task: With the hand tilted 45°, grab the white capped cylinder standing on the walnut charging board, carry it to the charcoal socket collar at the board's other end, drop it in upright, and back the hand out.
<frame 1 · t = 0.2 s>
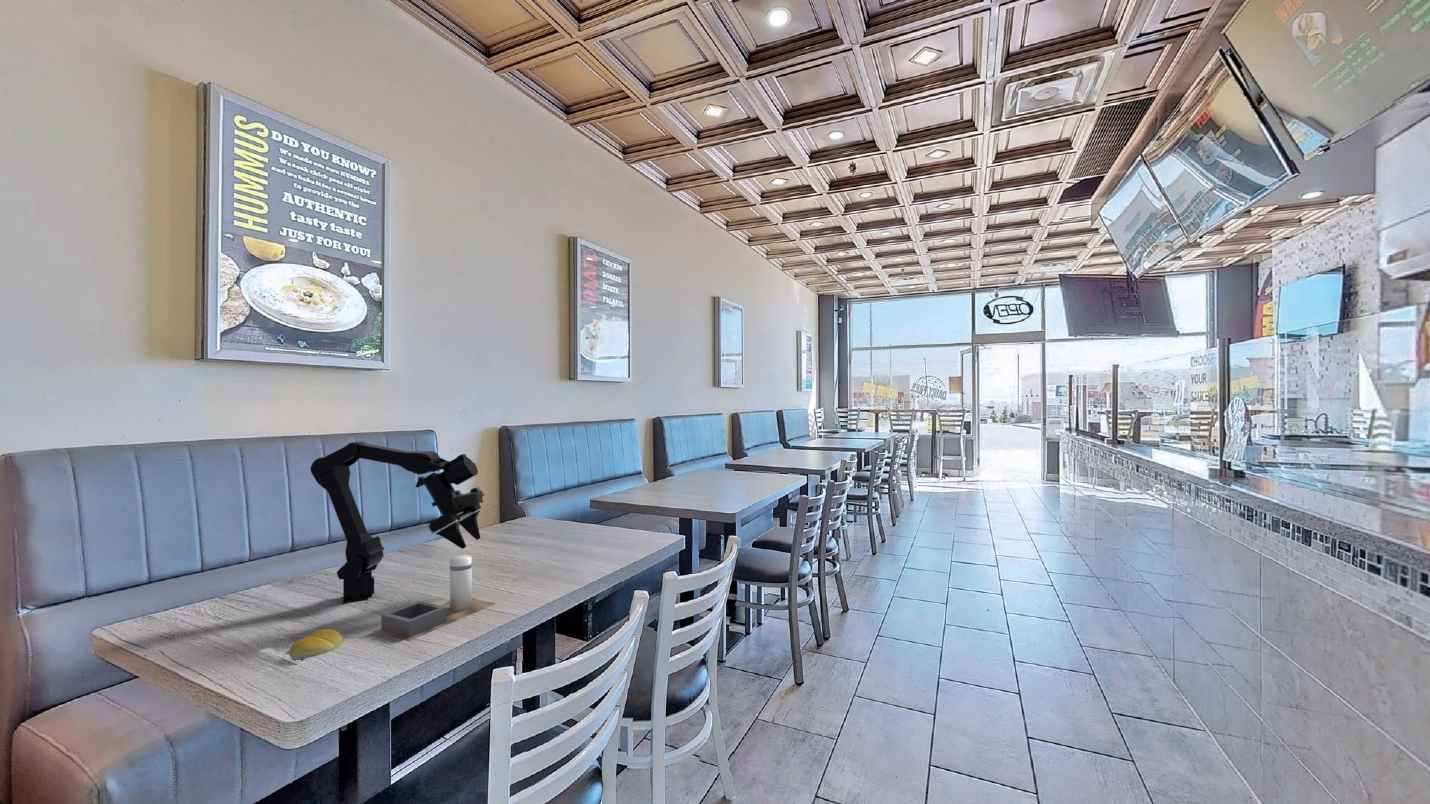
hand: (471, 543, 145), 14 cm above the table, tool tilted 30°, fingers open, 9 cm apart
socket collar: (414, 626, 123), resting on charging board
bread roll: (316, 653, 112), on the table
white capped cylinder: (460, 607, 134), point 1 cm above the table, touching charging board
charging board: (438, 619, 129), on the table
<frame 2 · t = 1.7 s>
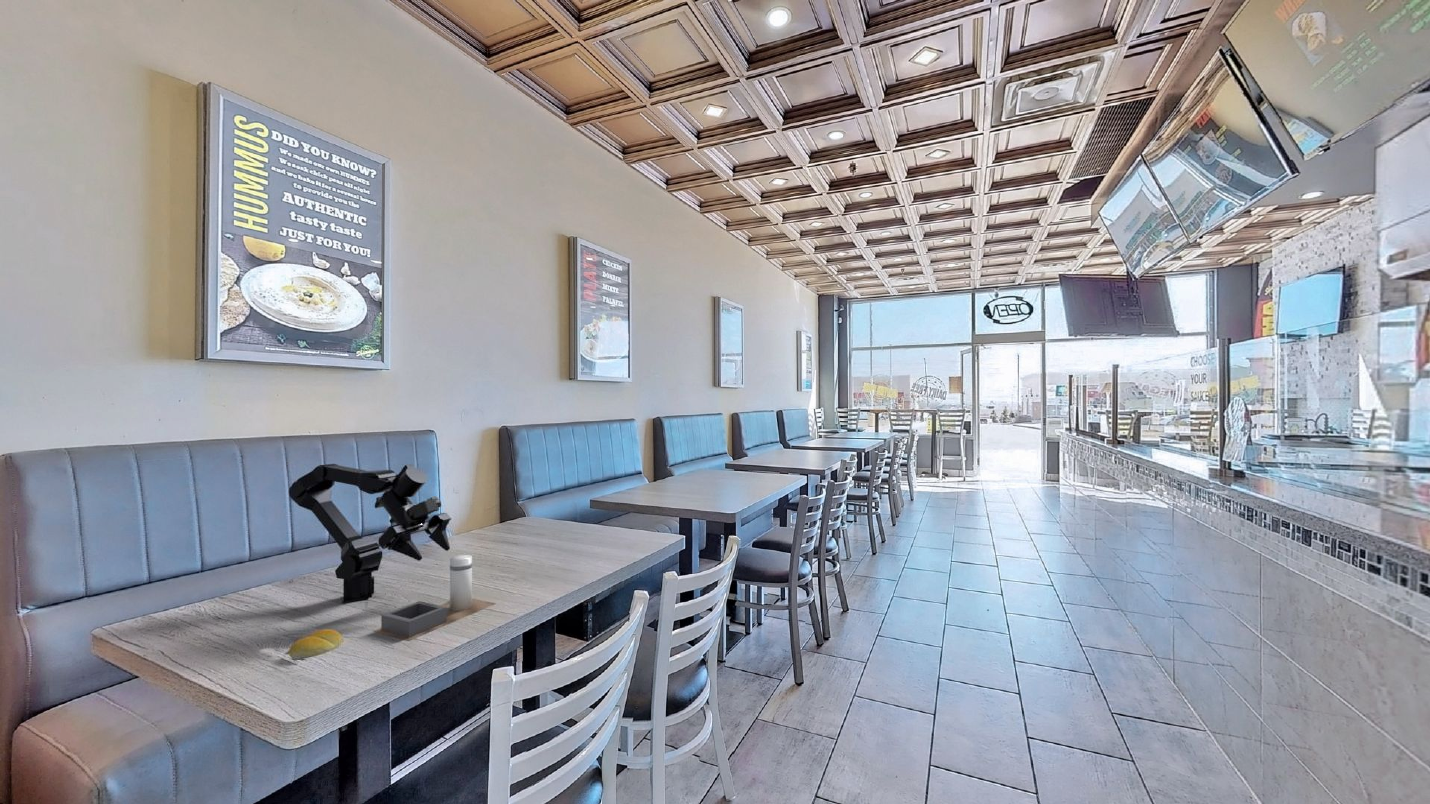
hand: (435, 554, 137), 13 cm above the table, tool tilted 45°, fingers open, 9 cm apart
nothing on the table moved.
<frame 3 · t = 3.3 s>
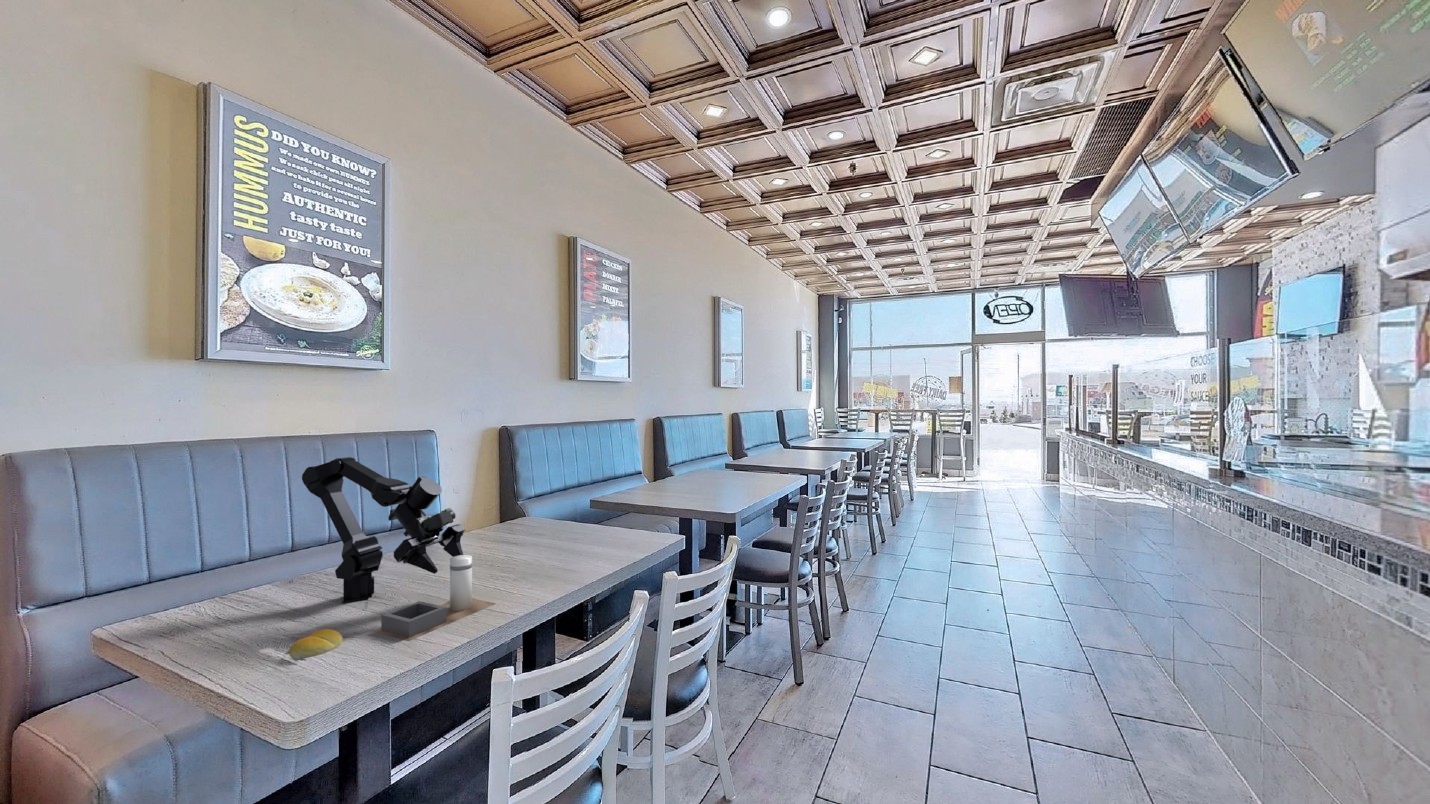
hand: (450, 567, 135), 11 cm above the table, tool tilted 45°, fingers open, 9 cm apart
nothing on the table moved.
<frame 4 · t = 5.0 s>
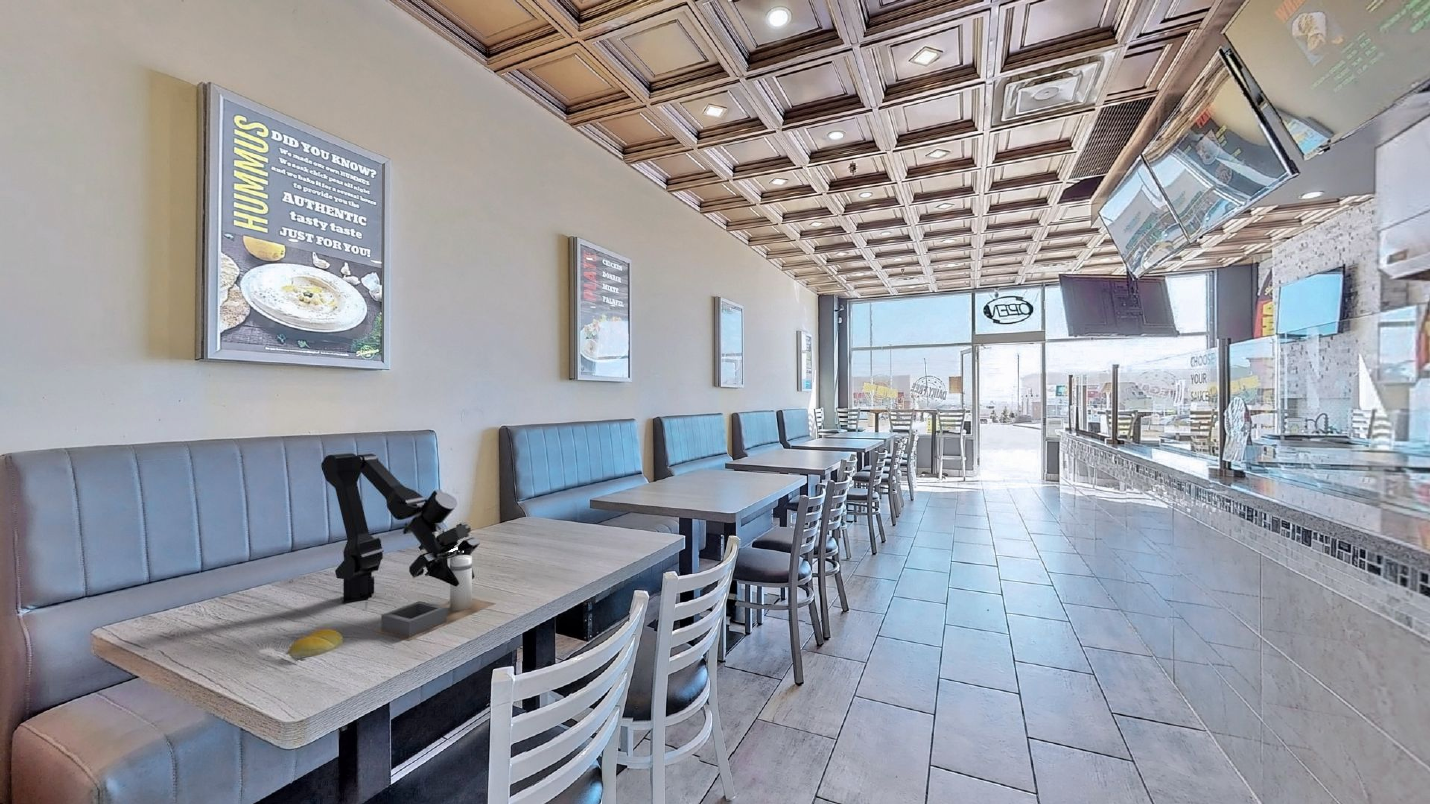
hand: (465, 581, 134), 7 cm above the table, tool tilted 45°, fingers closed on white capped cylinder, 5 cm apart
white capped cylinder: (460, 607, 134), point 1 cm above the table, touching charging board, gripper
everything else where it was.
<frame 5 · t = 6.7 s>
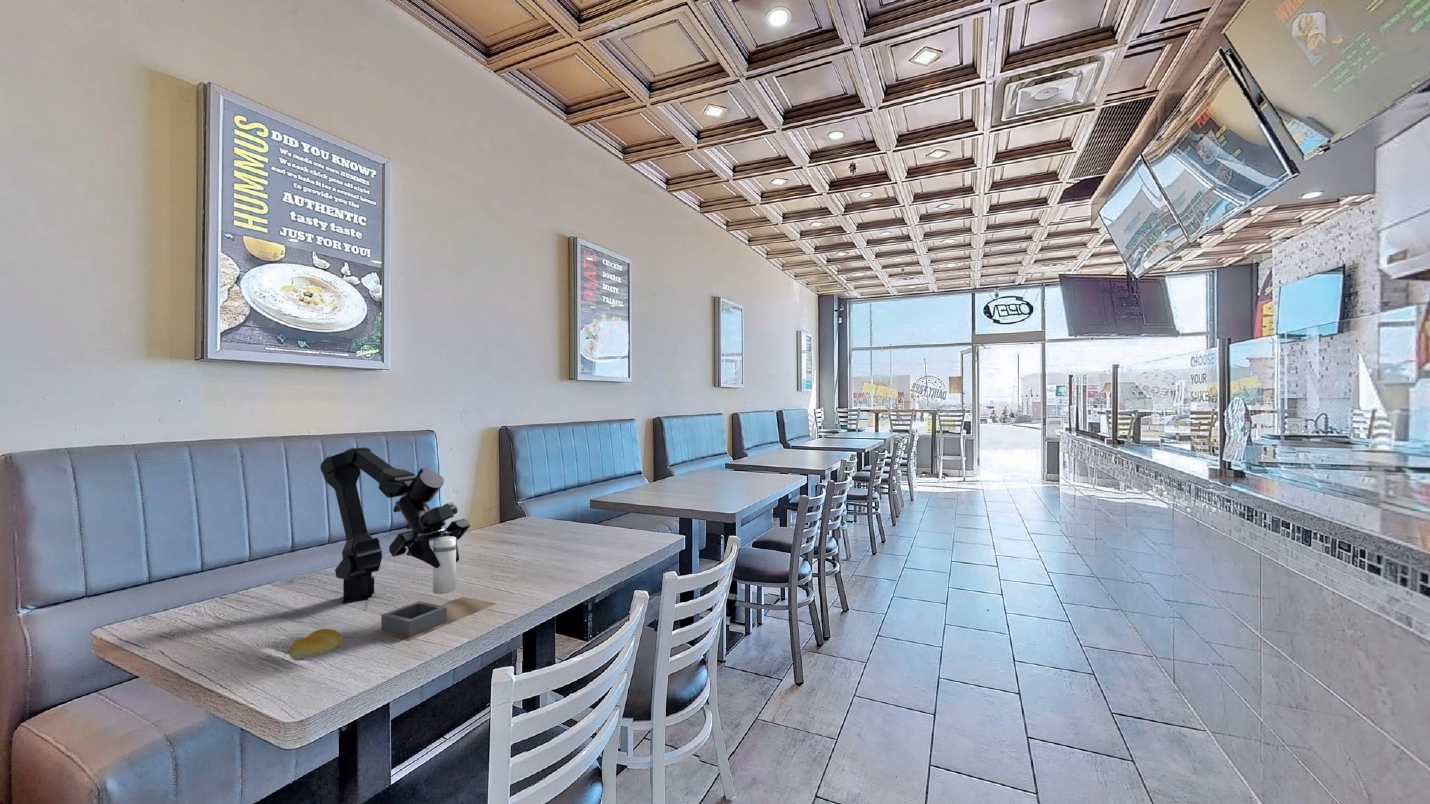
hand: (448, 564, 129), 13 cm above the table, tool tilted 45°, fingers closed on white capped cylinder, 5 cm apart
white capped cylinder: (444, 590, 130), point 7 cm above the table, touching gripper
everything else where it was.
when the fingers open (9 cm above the table, at t = 8.7 s): white capped cylinder drops 1 cm, resting on charging board.
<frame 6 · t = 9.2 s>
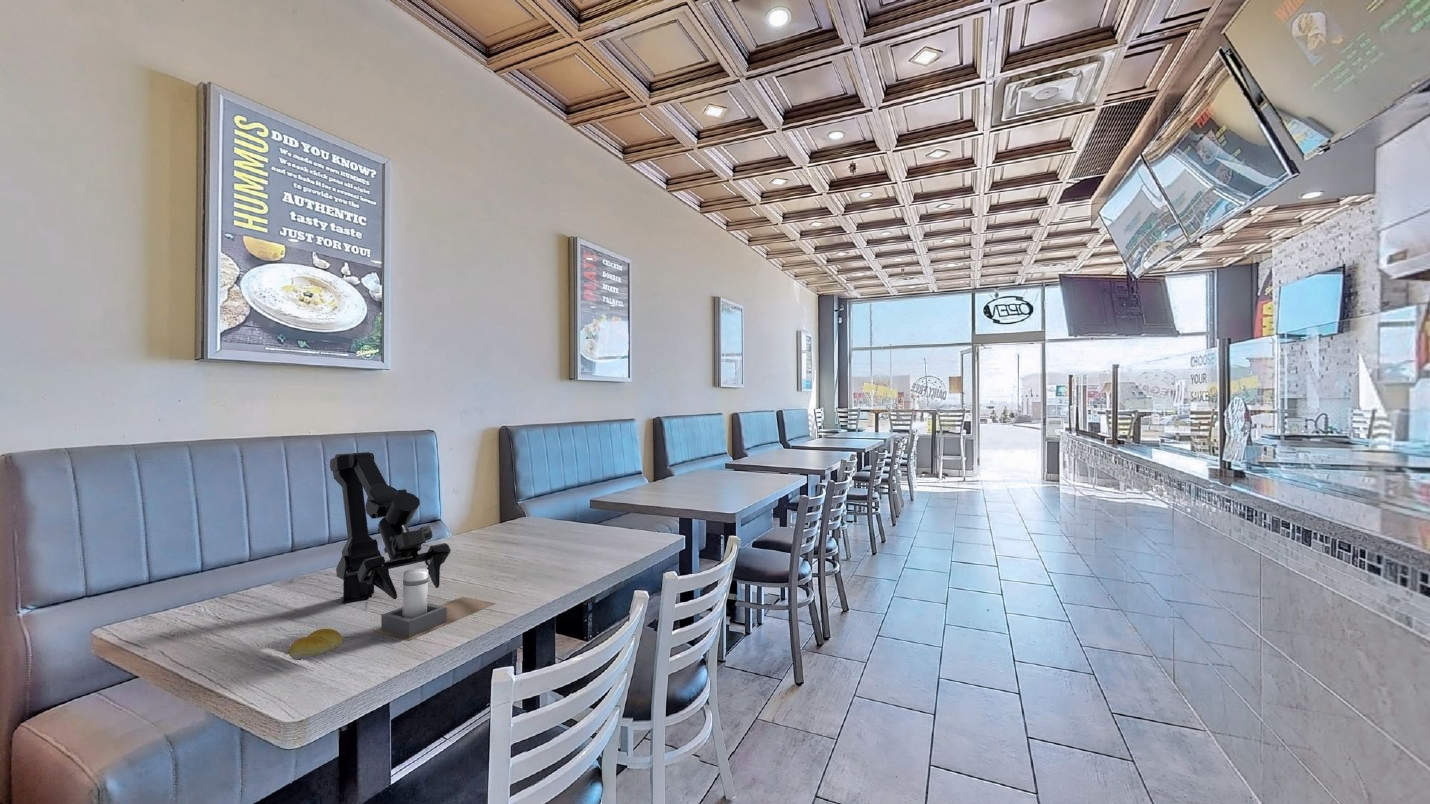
hand: (417, 592, 122), 9 cm above the table, tool tilted 45°, fingers open, 9 cm apart
white capped cylinder: (414, 625, 123), point 1 cm above the table, touching charging board
everything else where it was.
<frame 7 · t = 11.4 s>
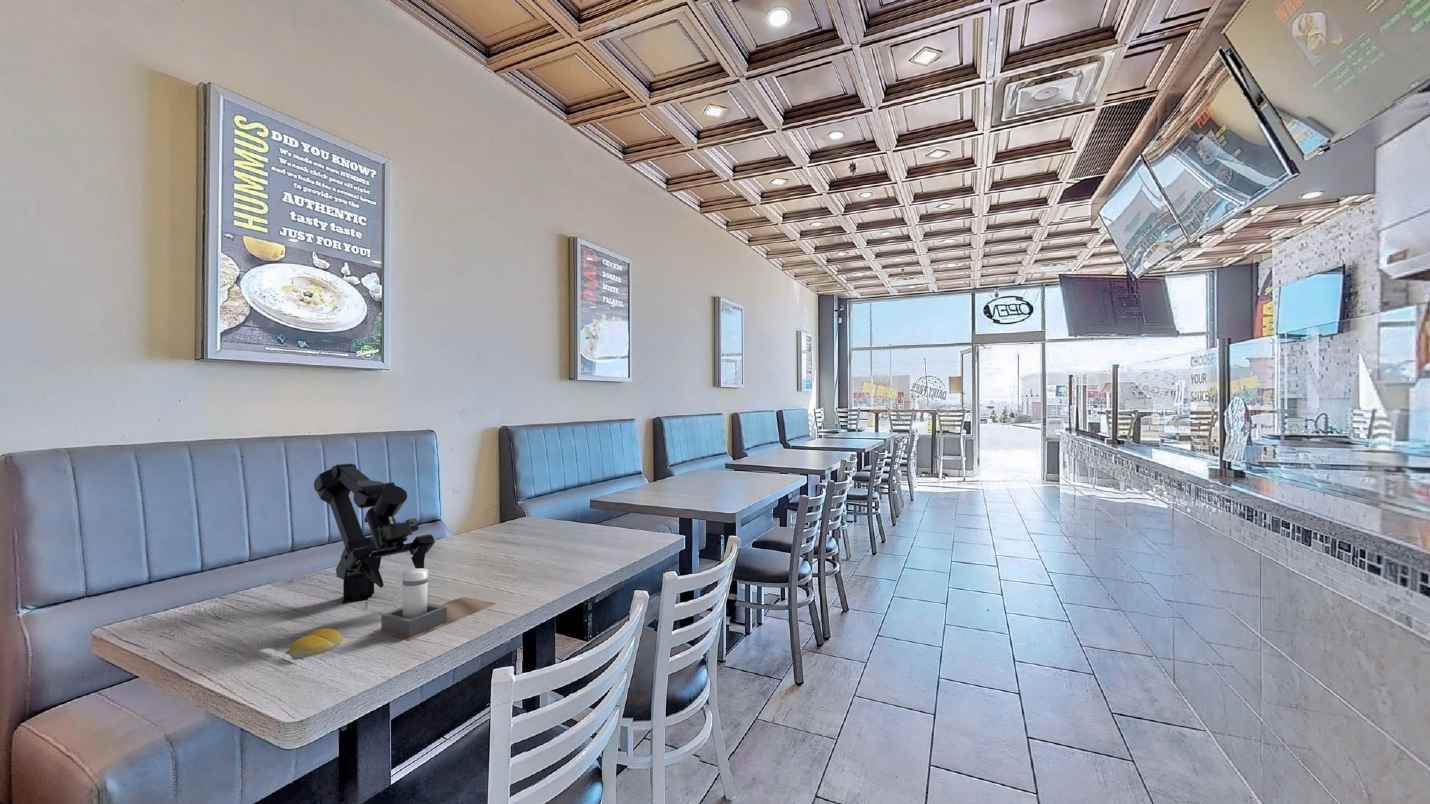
hand: (402, 581, 129), 9 cm above the table, tool tilted 40°, fingers open, 9 cm apart
nothing on the table moved.
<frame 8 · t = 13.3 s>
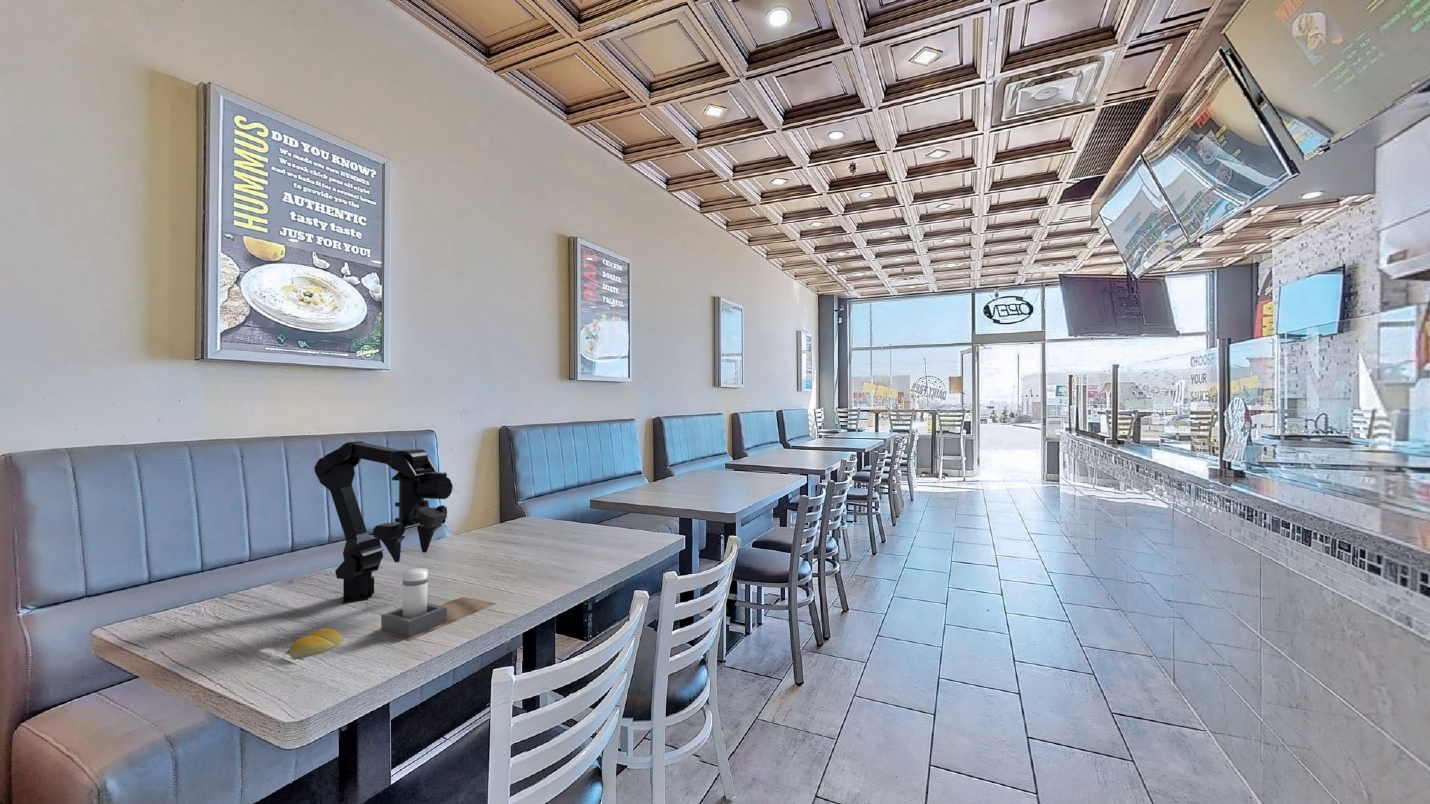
hand: (411, 557, 140), 12 cm above the table, tool pointing down, fingers open, 9 cm apart
nothing on the table moved.
at the end: white capped cylinder 0.1 cm off-centre on the socket collar, point 0.0 cm above the socket collar's base; white capped cylinder tilted 1°; the gripper is holding nothing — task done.
